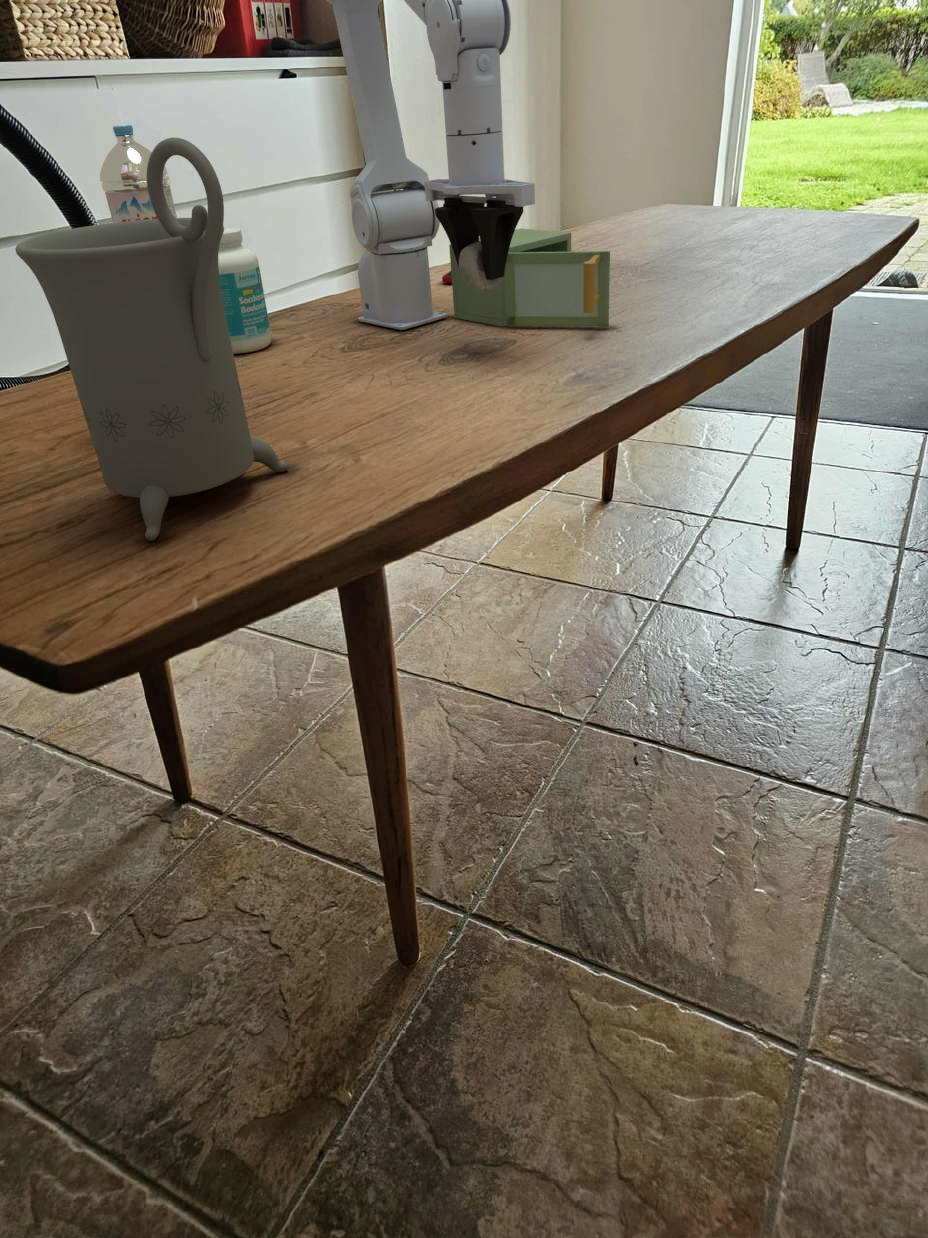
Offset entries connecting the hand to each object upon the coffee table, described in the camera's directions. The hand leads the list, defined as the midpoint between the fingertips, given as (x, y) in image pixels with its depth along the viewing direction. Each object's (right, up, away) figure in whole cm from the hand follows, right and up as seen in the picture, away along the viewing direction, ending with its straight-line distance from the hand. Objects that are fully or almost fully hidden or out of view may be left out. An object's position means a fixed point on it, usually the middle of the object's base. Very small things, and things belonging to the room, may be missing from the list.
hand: (481, 275), depth 94 cm
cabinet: (+5, +3, +20) cm, 21 cm away
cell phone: (0, +17, +43) cm, 46 cm away
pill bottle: (-30, -3, +14) cm, 33 cm away
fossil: (0, -1, +1) cm, 2 cm away
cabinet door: (+9, -3, +10) cm, 13 cm away
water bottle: (-35, -9, +7) cm, 37 cm away
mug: (-23, -28, -25) cm, 44 cm away
